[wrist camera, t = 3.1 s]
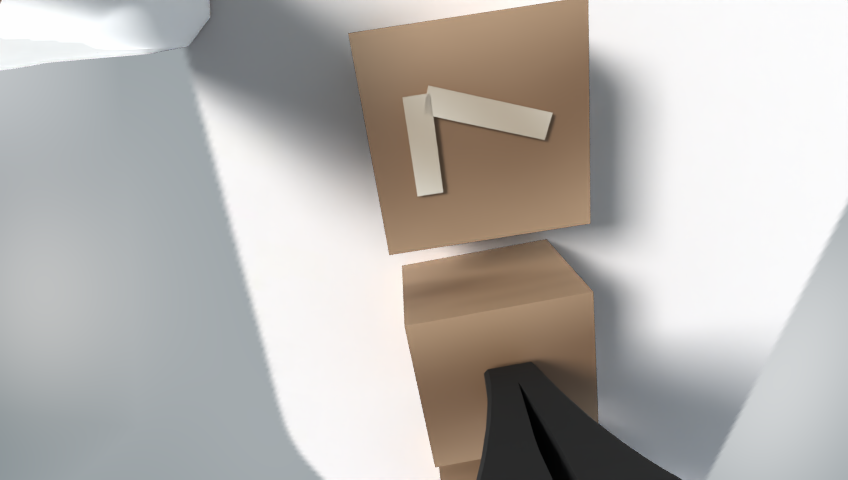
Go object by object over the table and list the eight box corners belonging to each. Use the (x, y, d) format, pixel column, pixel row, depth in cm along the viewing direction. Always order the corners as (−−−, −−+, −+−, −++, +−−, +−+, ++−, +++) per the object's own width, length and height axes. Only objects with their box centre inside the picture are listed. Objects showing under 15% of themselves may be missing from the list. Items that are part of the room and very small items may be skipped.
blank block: (554, 358, 17) (598, 437, 14) (426, 381, 17) (434, 467, 14) (545, 237, 15) (593, 291, 12) (402, 264, 16) (404, 326, 12)
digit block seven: (540, 184, 15) (592, 225, 11) (390, 207, 15) (389, 257, 11) (532, 17, 13) (591, -5, 9) (361, 43, 13) (347, 32, 9)
